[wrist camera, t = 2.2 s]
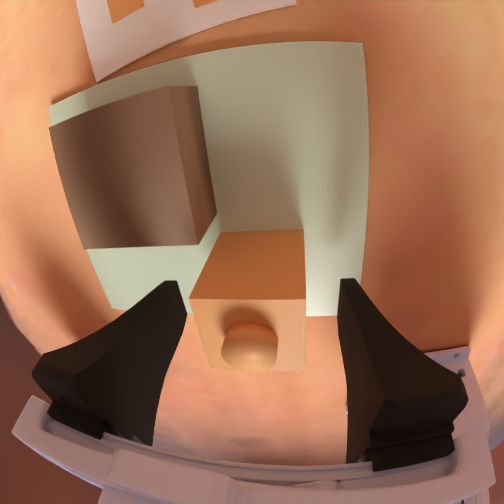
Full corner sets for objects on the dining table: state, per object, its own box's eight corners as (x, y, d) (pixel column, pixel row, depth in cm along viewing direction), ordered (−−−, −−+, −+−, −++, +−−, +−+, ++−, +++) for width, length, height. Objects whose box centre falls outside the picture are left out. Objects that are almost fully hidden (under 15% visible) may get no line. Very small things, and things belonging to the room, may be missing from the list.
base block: (197, 86, 11) (169, 85, 8) (217, 213, 14) (198, 244, 11) (88, 116, 12) (49, 127, 9) (114, 221, 15) (83, 249, 12)
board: (360, 44, 9) (362, 42, 9) (354, 310, 16) (355, 314, 16) (52, 106, 12) (47, 107, 11) (114, 305, 19) (112, 308, 18)
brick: (303, 229, 13) (306, 316, 8) (304, 296, 15) (303, 387, 10) (220, 232, 14) (181, 313, 9) (232, 296, 16) (207, 382, 11)
